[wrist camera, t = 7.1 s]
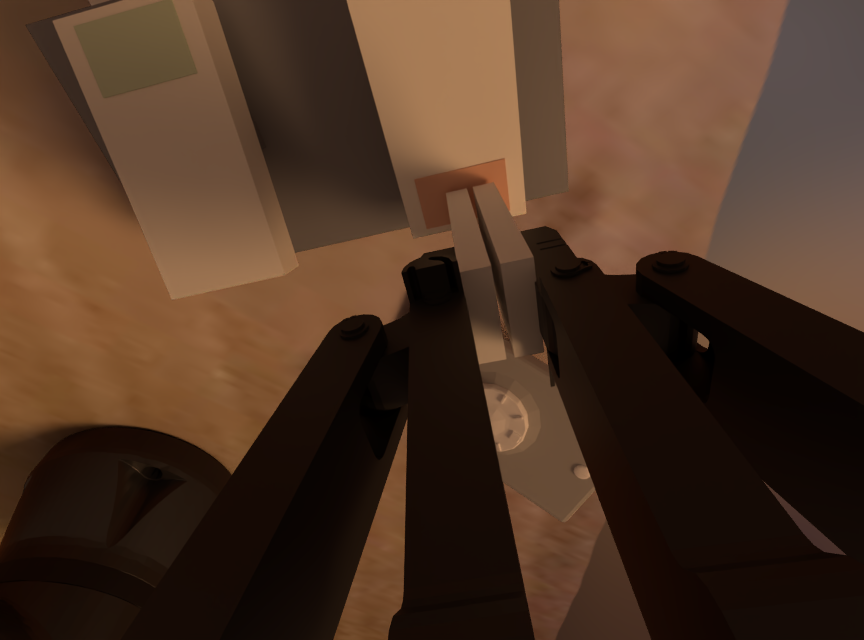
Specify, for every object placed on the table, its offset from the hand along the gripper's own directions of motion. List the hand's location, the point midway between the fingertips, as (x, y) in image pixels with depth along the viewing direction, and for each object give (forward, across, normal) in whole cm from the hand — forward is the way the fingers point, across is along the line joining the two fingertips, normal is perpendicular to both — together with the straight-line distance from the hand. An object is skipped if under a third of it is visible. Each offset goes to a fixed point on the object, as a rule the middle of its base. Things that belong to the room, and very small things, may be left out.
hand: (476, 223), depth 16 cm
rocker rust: (+1, 0, +4) cm, 4 cm away
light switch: (+9, -1, -14) cm, 16 cm away
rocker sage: (+1, -9, +4) cm, 10 cm away
